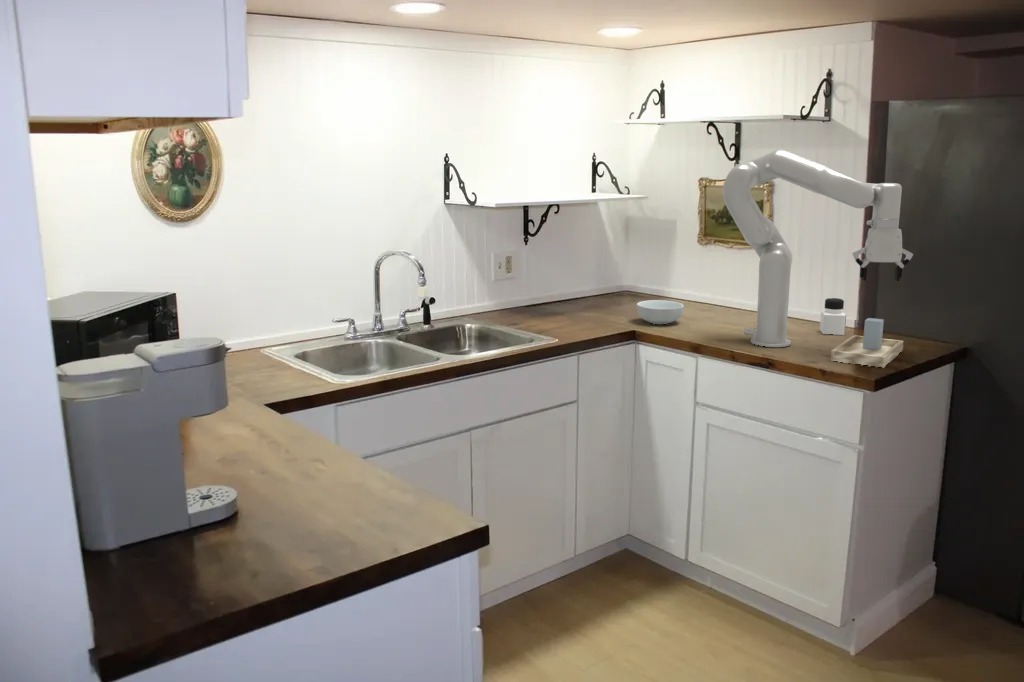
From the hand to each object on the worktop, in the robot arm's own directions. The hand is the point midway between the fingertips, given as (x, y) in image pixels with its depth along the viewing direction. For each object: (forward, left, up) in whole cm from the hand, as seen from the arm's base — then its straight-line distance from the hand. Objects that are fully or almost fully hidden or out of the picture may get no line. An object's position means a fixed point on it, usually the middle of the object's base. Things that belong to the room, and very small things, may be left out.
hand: (880, 280), depth 258 cm
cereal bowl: (-75, +3, -23) cm, 78 cm away
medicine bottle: (-18, +20, -23) cm, 35 cm away
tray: (0, -8, -22) cm, 24 cm away
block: (0, -2, -21) cm, 21 cm away
